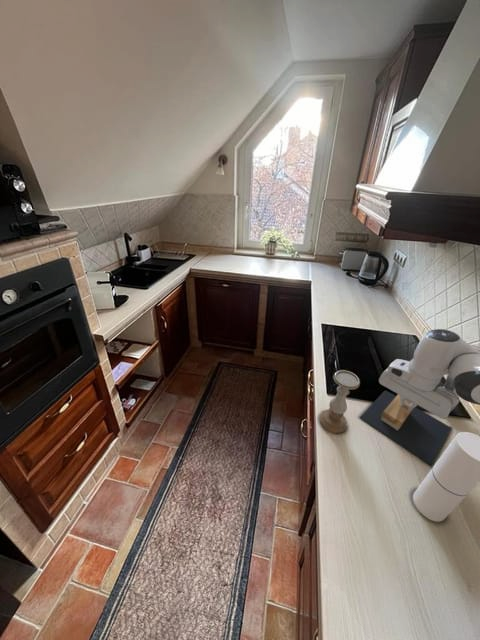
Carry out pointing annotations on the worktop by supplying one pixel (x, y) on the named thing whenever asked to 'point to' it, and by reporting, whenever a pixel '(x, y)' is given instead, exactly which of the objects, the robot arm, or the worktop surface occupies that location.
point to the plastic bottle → (450, 386)
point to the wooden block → (396, 413)
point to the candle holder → (339, 402)
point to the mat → (410, 429)
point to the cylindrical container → (450, 478)
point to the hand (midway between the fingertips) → (405, 407)
